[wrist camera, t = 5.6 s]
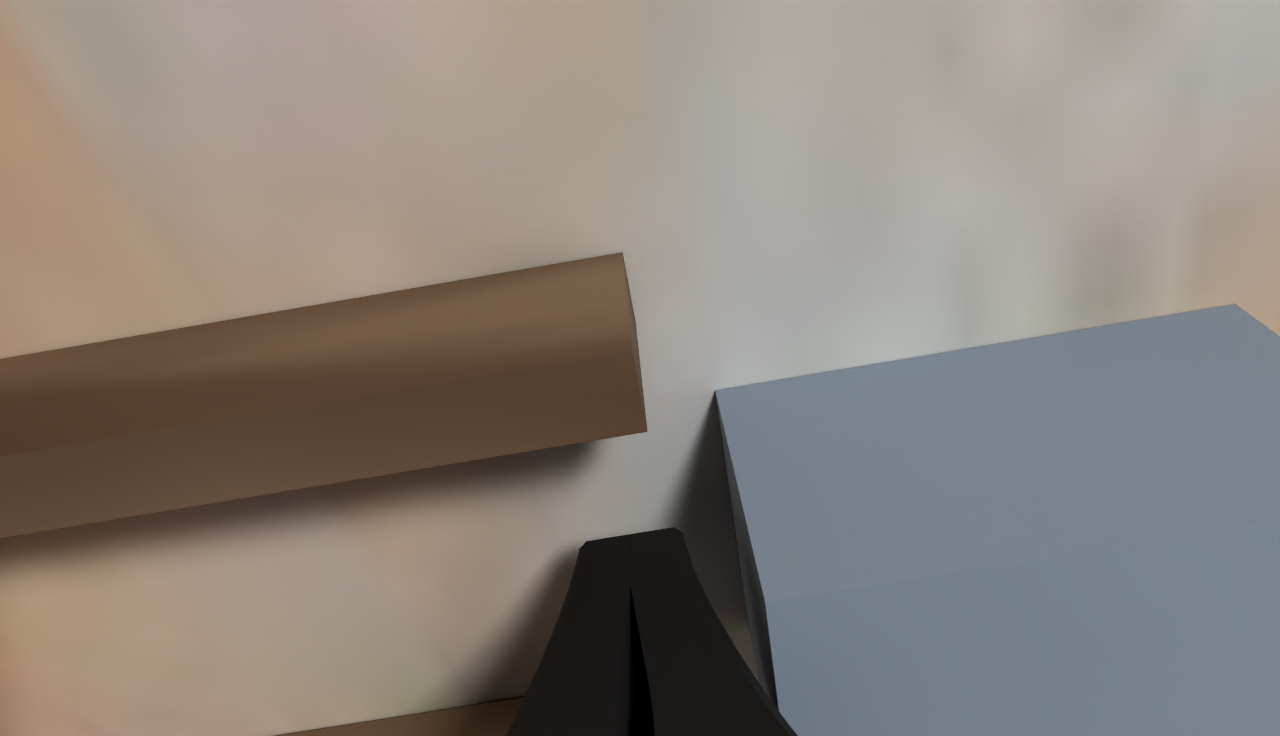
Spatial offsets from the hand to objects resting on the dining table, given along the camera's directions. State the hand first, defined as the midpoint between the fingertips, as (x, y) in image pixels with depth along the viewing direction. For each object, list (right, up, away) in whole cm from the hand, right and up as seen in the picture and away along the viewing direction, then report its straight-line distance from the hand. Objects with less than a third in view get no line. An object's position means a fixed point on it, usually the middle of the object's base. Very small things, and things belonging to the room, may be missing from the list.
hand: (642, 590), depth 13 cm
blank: (+5, +1, +1) cm, 5 cm away
